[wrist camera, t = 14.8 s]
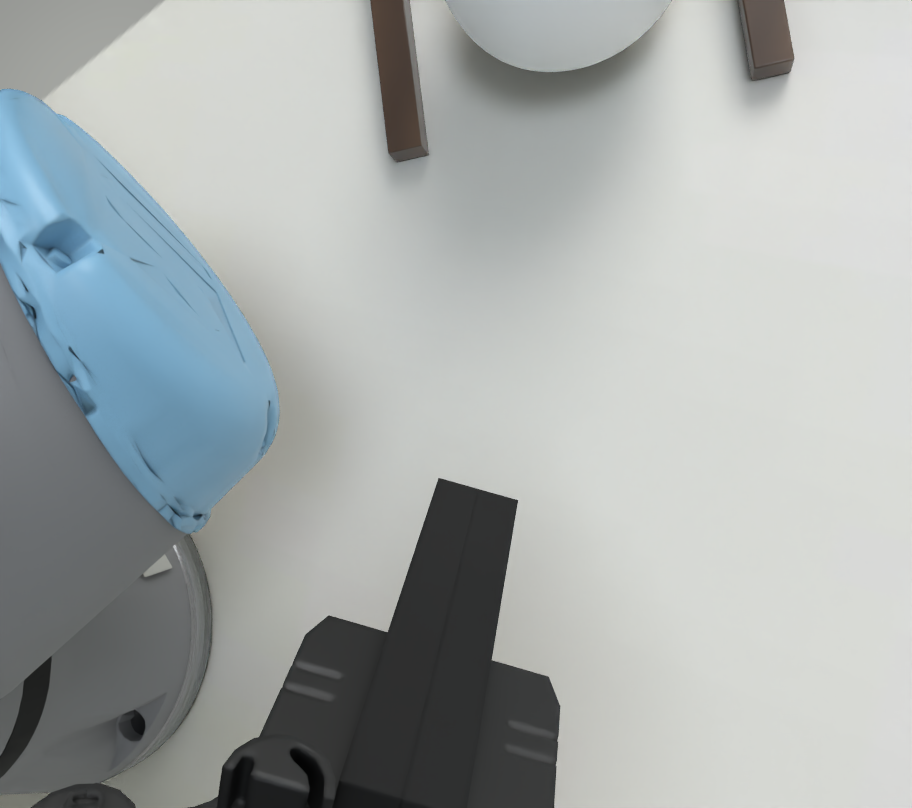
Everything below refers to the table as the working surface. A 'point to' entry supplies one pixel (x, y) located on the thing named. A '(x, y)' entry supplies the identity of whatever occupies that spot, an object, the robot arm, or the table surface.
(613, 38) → the ornament
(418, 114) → the bay
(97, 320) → the robot arm
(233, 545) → the table surface
